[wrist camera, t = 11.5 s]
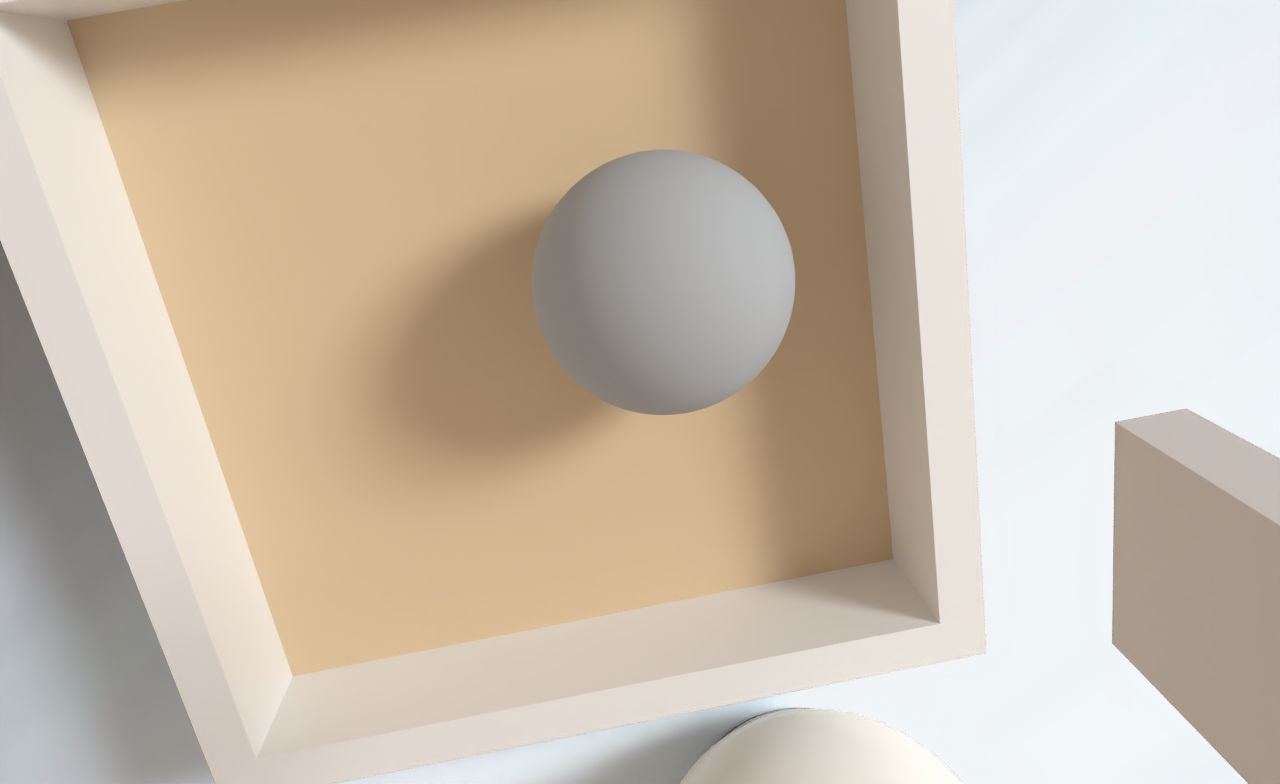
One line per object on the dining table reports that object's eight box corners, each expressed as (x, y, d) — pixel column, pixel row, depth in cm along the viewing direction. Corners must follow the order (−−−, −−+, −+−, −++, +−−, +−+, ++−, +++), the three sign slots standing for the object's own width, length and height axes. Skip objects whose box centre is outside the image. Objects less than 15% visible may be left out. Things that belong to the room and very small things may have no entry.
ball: (434, 237, 20) (644, 79, 17) (578, 230, 25) (758, 107, 22) (554, 484, 20) (790, 366, 17) (675, 425, 25) (871, 327, 22)
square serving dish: (5, -25, 21) (-115, -51, 17) (874, -171, 22) (942, -226, 18) (268, 707, 28) (223, 805, 24) (928, 577, 28) (986, 653, 24)
